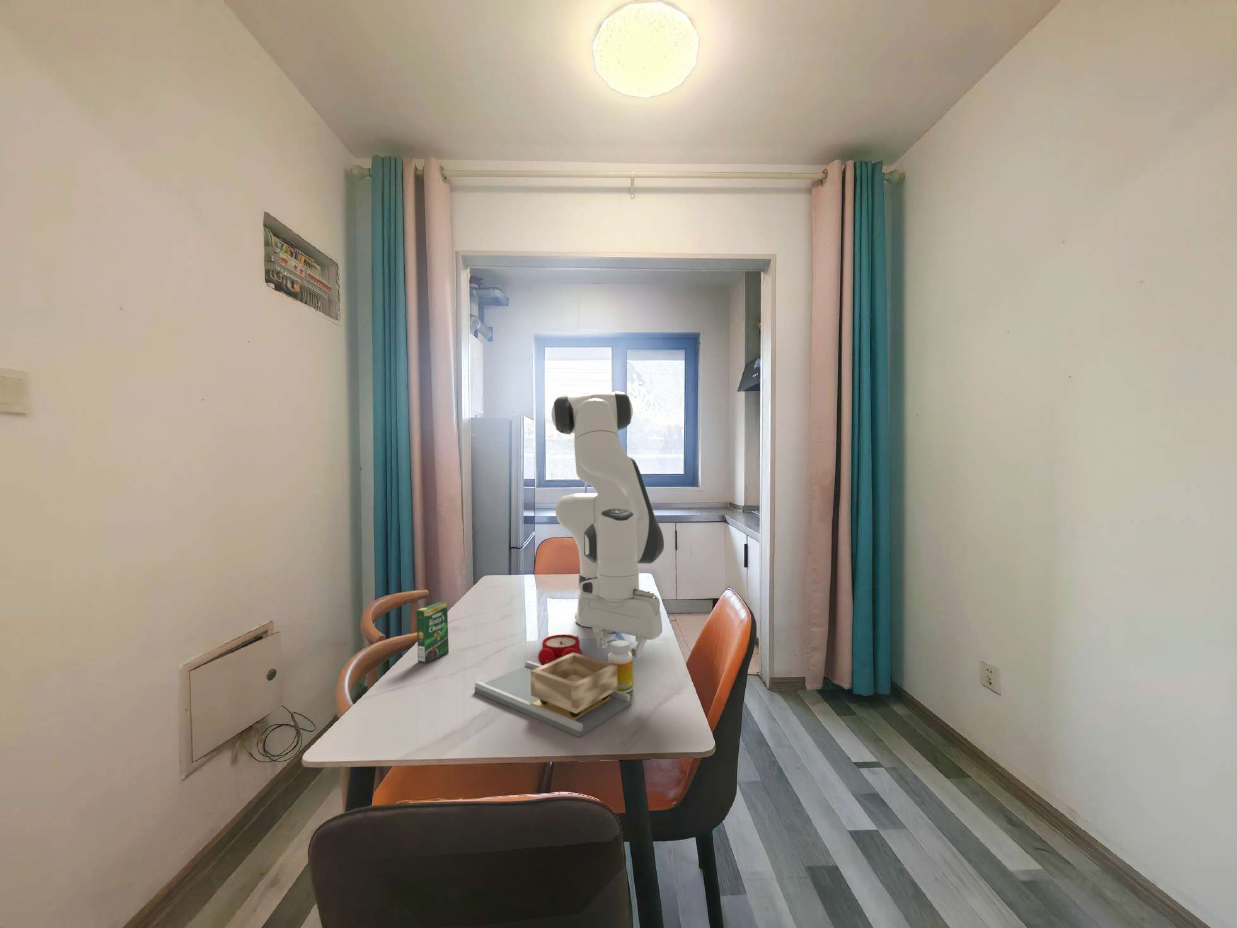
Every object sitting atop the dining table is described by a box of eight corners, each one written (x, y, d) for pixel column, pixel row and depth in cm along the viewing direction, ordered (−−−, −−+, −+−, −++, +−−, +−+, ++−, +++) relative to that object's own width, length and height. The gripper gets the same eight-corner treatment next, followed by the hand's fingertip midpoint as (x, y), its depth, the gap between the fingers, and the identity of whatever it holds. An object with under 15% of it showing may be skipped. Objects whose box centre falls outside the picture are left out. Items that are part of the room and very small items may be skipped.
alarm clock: (583, 633, 133) (578, 639, 119) (583, 658, 132) (578, 668, 117) (543, 633, 133) (534, 640, 119) (543, 659, 132) (533, 669, 117)
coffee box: (424, 664, 123) (424, 610, 123) (416, 662, 124) (415, 609, 124) (449, 653, 130) (448, 602, 130) (441, 651, 131) (440, 600, 131)
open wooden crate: (573, 682, 108) (573, 652, 108) (617, 698, 101) (617, 665, 101) (531, 704, 99) (530, 670, 99) (576, 722, 91) (575, 686, 91)
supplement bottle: (638, 690, 107) (637, 644, 107) (616, 696, 104) (615, 649, 104) (624, 681, 112) (623, 637, 112) (603, 687, 109) (602, 642, 109)
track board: (528, 668, 119) (528, 660, 119) (630, 704, 101) (630, 694, 101) (474, 691, 107) (474, 682, 107) (579, 737, 89) (579, 725, 89)
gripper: (667, 590, 104) (668, 658, 104) (592, 578, 117) (593, 638, 116) (650, 596, 99) (651, 667, 99) (573, 583, 112) (574, 646, 111)
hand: (619, 651), depth 108 cm, fingers open, 8 cm apart
